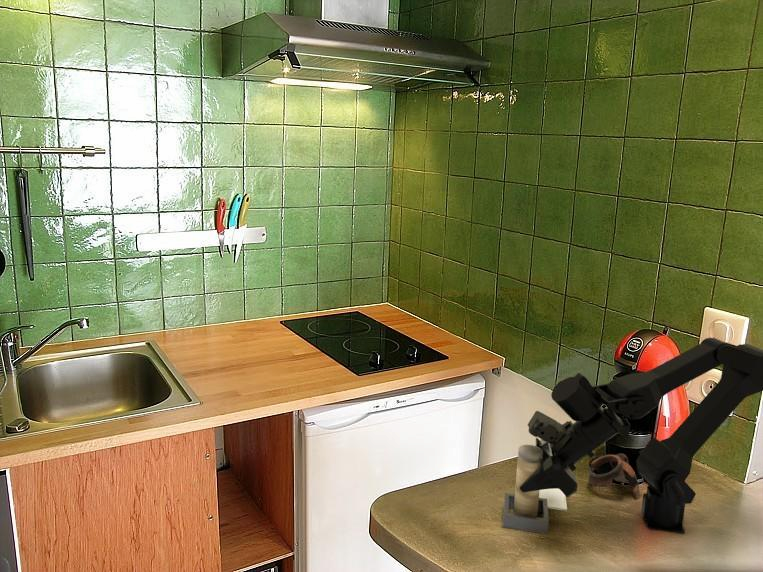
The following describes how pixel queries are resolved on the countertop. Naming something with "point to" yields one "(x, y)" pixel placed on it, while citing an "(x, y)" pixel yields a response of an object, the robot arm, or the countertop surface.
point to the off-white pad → (554, 498)
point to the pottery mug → (614, 473)
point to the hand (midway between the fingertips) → (520, 483)
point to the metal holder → (525, 517)
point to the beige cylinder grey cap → (525, 468)
